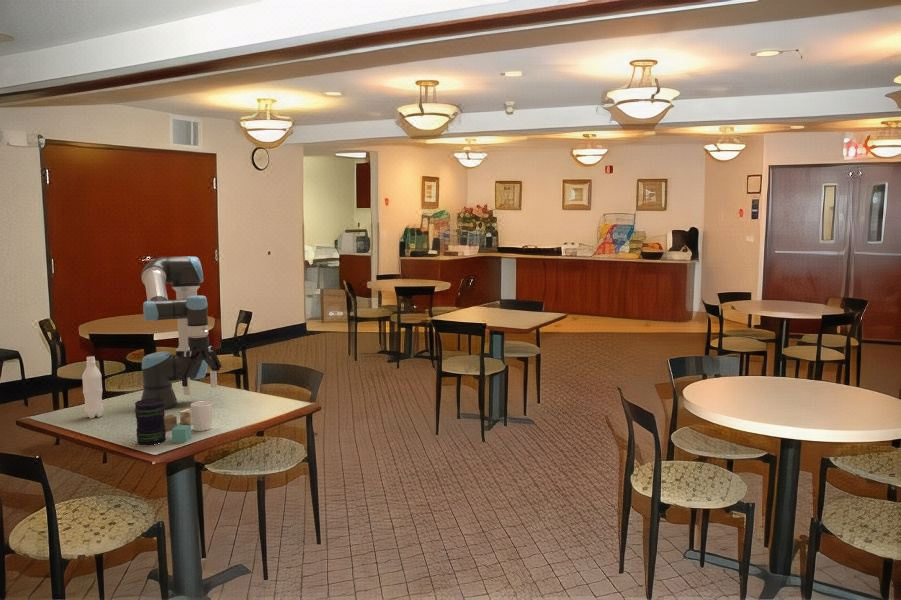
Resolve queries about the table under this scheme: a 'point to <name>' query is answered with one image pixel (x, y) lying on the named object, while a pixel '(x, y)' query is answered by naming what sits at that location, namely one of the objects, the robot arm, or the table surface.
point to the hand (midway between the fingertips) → (200, 390)
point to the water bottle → (92, 389)
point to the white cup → (201, 415)
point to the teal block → (181, 433)
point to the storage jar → (150, 421)
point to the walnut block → (170, 422)
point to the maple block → (186, 417)
